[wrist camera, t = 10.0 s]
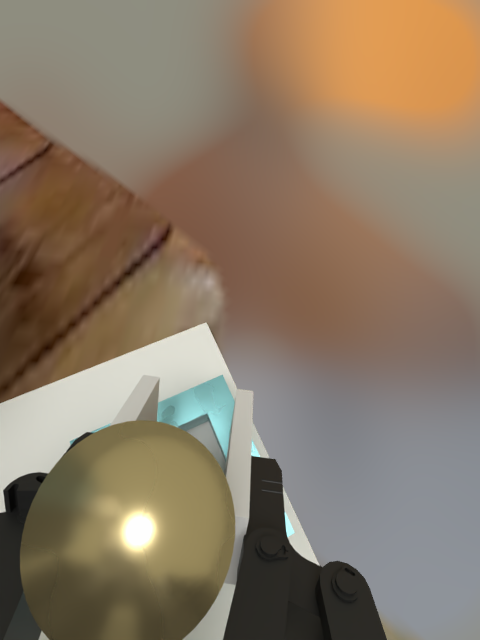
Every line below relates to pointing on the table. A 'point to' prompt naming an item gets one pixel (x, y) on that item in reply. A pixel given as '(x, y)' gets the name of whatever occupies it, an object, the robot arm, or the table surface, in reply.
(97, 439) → the gold capped grey cylinder
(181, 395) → the teal square frame
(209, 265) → the table surface
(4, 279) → the table surface
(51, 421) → the board
